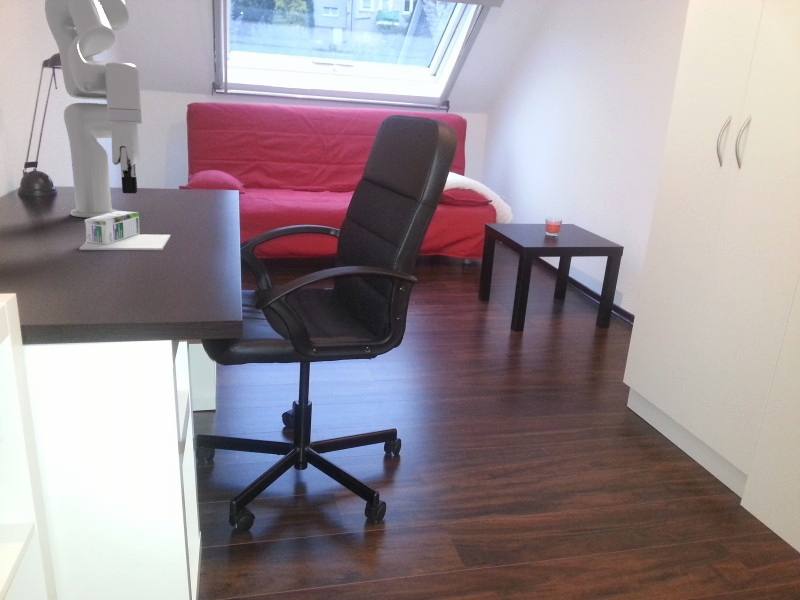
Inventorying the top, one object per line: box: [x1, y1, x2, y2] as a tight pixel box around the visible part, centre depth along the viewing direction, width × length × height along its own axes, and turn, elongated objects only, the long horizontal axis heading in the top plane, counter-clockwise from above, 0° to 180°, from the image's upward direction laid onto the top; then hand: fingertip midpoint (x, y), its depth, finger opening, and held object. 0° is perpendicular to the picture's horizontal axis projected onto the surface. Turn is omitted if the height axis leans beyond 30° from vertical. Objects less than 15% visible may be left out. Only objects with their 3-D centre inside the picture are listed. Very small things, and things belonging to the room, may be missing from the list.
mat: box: [78, 233, 171, 251], centre depth 158 cm, size 16×18×1 cm
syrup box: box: [84, 210, 141, 244], centre depth 159 cm, size 6×6×14 cm
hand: (130, 192), depth 161 cm, fingers closed
